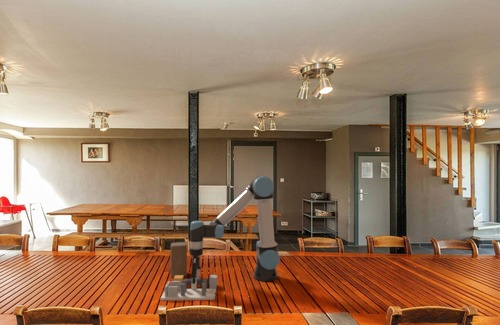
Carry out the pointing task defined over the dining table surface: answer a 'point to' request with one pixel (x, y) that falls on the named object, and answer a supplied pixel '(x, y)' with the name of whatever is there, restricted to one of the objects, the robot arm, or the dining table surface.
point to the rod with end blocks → (199, 280)
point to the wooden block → (178, 259)
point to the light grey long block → (187, 292)
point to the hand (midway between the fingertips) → (195, 284)
